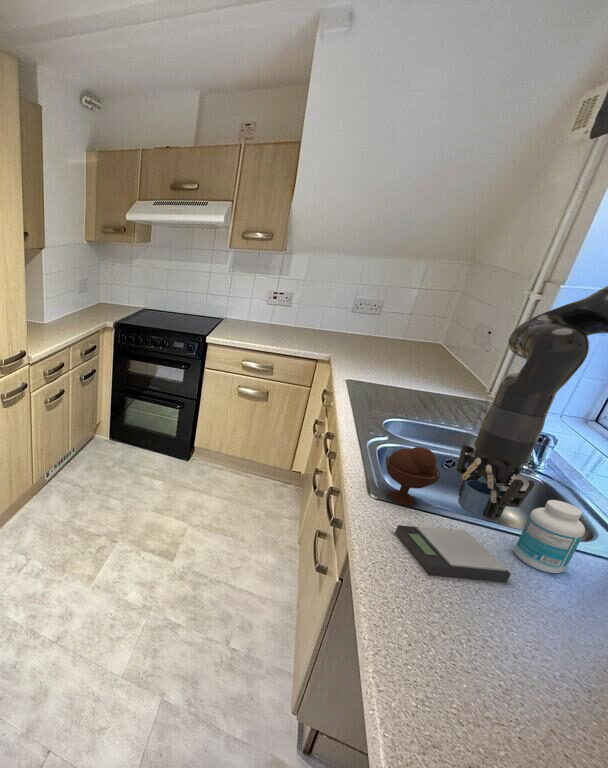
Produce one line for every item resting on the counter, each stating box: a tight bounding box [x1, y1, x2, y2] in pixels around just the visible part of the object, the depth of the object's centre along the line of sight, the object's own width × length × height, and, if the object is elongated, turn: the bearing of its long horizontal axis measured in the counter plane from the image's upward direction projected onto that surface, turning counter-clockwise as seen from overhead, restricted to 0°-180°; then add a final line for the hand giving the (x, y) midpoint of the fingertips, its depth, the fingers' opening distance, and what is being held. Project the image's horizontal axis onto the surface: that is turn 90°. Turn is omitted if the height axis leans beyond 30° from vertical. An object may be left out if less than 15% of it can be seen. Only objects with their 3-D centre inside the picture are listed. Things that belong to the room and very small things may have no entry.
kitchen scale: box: [394, 525, 512, 583], centre depth 85 cm, size 14×12×3 cm
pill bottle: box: [514, 499, 586, 574], centre depth 82 cm, size 8×7×14 cm
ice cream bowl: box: [385, 446, 441, 506], centre depth 101 cm, size 11×11×15 cm
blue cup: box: [457, 480, 502, 518], centre depth 80 cm, size 6×6×5 cm
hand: (476, 507), depth 81 cm, fingers closed on blue cup, 6 cm apart
